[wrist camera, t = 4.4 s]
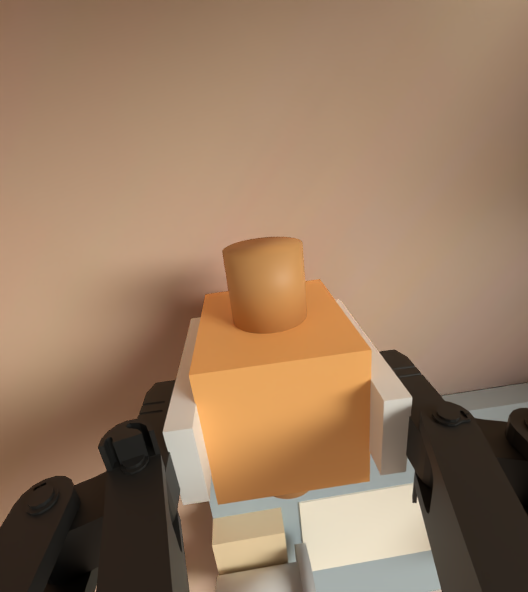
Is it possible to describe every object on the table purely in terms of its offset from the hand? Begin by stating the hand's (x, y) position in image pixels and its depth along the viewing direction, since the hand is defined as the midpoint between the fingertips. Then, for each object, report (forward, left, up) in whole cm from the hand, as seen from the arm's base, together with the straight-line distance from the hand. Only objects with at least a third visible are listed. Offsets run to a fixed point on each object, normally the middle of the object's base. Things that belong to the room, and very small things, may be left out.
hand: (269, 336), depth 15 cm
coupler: (0, 0, 0) cm, 1 cm away
